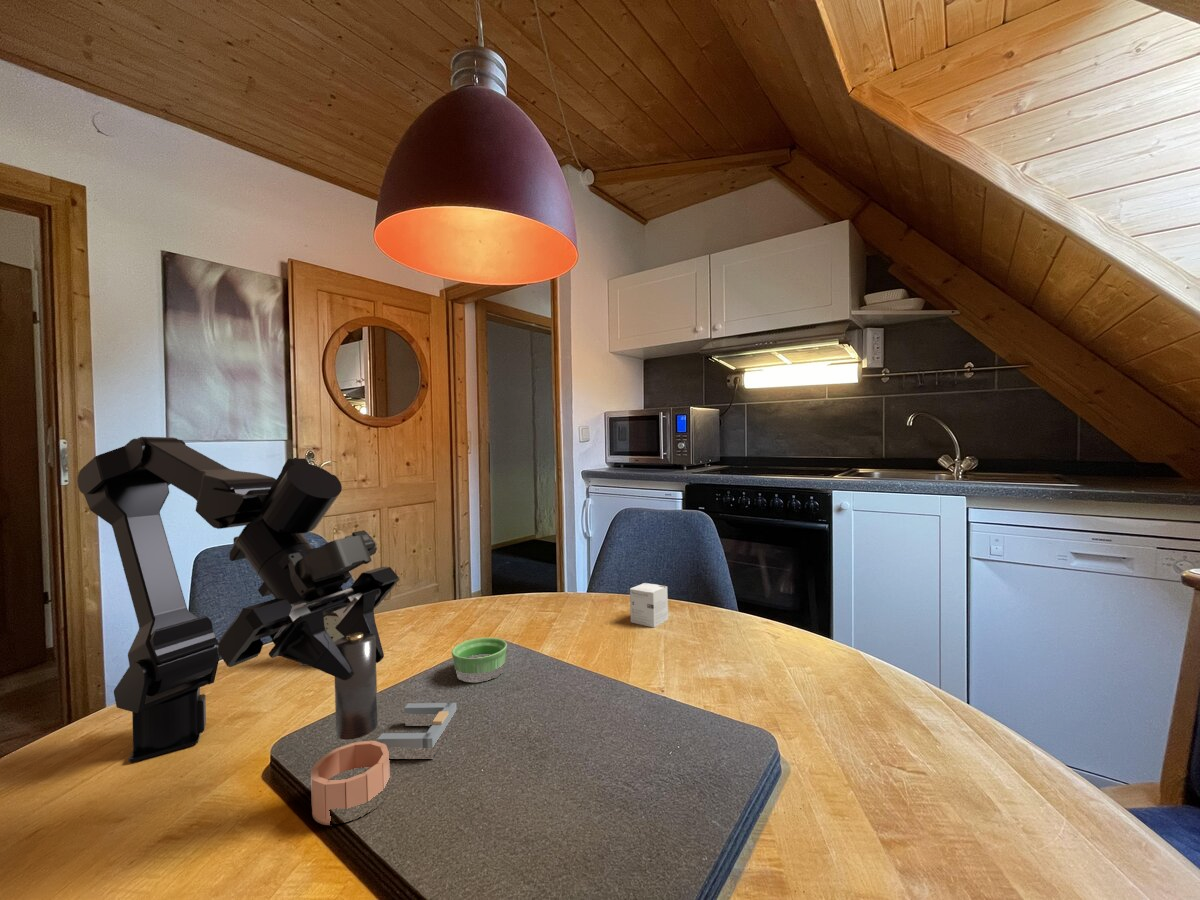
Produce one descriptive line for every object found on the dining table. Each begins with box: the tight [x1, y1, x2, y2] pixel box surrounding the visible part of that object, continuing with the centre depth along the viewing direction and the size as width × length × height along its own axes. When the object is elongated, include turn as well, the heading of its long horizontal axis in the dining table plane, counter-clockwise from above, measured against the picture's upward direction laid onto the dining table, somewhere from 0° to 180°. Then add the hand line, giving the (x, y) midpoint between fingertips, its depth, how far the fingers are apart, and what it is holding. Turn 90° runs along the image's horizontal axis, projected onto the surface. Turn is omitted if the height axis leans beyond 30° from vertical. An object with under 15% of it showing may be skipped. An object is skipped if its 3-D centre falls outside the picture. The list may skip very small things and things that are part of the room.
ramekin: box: [451, 637, 508, 674], centre depth 81 cm, size 9×9×4 cm
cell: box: [334, 632, 379, 741], centre depth 52 cm, size 4×4×10 cm
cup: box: [310, 740, 391, 826], centre depth 51 cm, size 7×7×4 cm
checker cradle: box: [376, 702, 458, 748], centre depth 61 cm, size 7×8×3 cm
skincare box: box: [629, 582, 669, 628], centre depth 103 cm, size 6×6×7 cm
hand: (365, 668), depth 51 cm, fingers closed on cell, 4 cm apart
